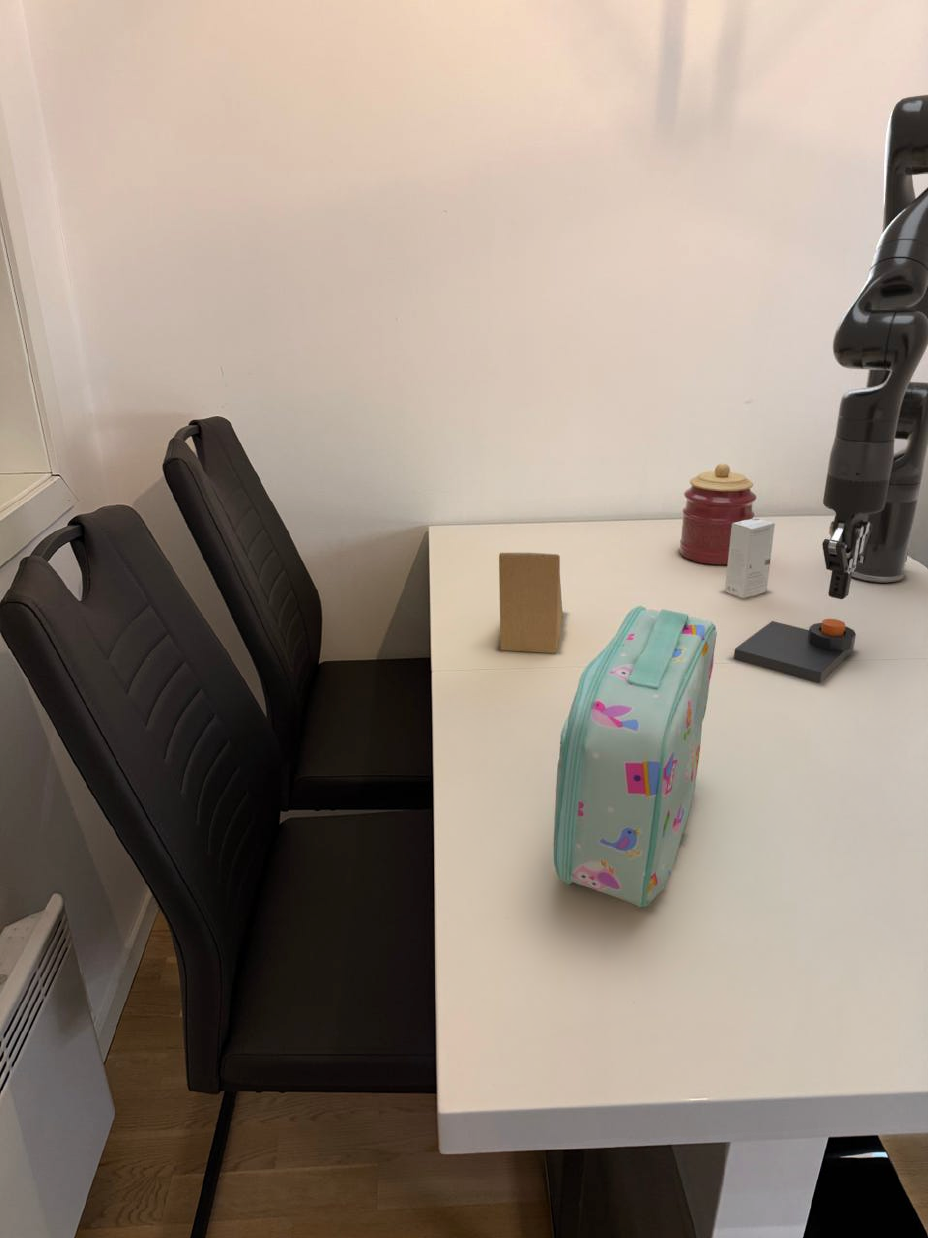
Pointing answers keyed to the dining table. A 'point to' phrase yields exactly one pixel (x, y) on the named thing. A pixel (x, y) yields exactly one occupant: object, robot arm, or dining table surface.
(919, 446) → the robot arm
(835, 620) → the tare button
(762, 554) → the cosmetic box
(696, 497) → the kitchen canister
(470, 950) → the dining table surface
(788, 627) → the button base plate
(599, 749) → the lunch box
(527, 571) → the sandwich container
